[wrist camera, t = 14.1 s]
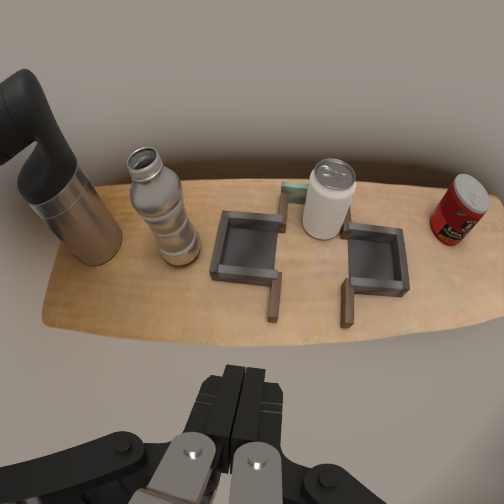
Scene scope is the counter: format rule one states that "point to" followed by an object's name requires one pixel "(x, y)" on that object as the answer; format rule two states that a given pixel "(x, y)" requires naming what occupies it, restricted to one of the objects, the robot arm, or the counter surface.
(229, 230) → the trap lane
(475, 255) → the counter surface
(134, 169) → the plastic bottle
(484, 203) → the canned food
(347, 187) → the can
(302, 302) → the counter surface
